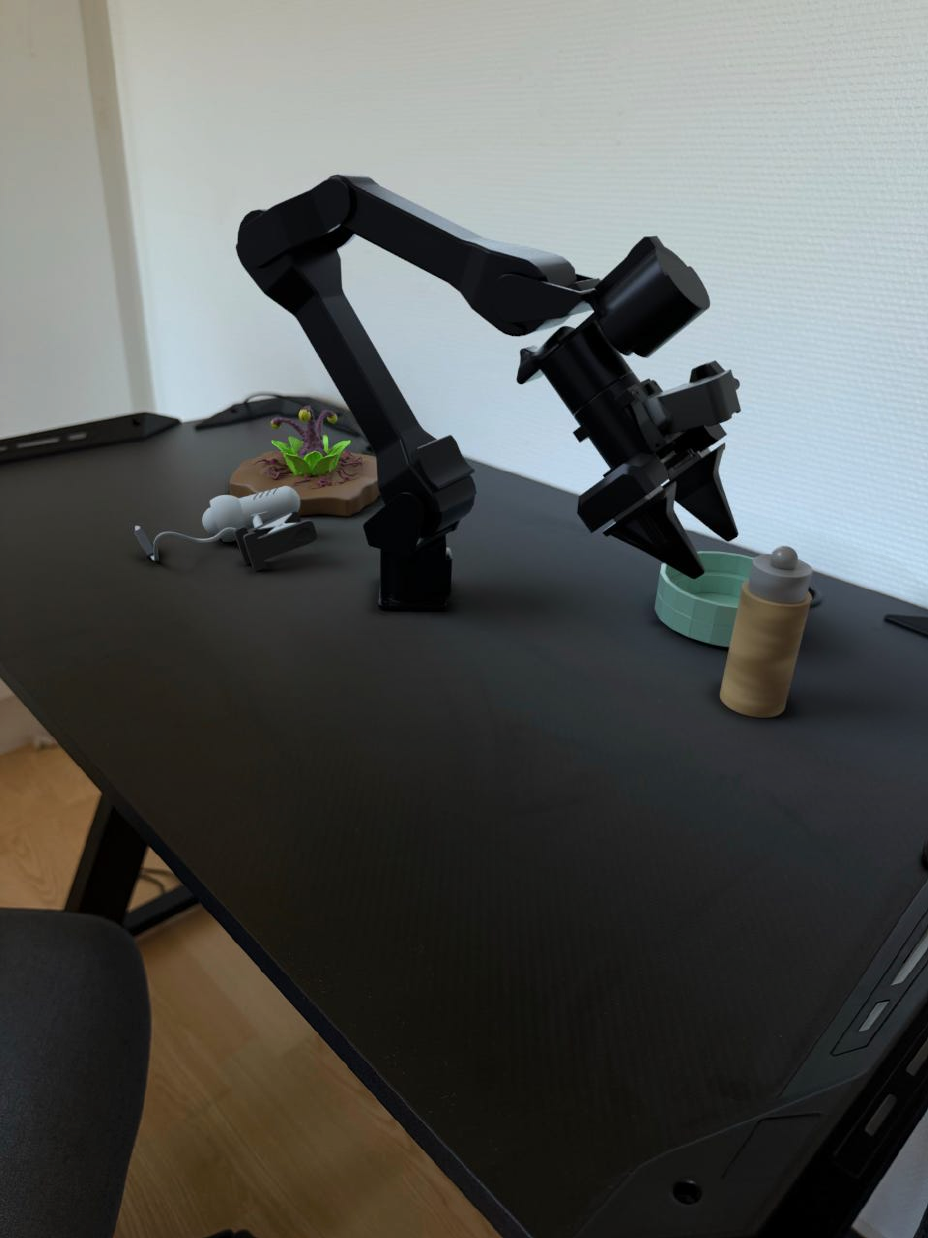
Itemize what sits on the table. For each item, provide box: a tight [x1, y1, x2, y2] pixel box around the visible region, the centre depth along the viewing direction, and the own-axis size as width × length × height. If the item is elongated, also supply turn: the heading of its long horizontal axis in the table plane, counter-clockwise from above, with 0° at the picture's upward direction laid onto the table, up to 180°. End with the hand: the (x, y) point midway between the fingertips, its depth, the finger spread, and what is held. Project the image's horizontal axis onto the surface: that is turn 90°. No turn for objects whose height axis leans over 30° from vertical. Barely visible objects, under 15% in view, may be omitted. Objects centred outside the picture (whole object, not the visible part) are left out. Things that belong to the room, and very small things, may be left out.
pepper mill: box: [719, 545, 814, 719], centre depth 71 cm, size 5×5×14 cm
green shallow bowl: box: [654, 550, 755, 648], centre depth 86 cm, size 13×13×4 cm
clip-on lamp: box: [133, 486, 318, 572], centre depth 95 cm, size 12×6×18 cm
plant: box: [229, 405, 381, 518], centre depth 112 cm, size 20×20×11 cm
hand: (717, 556), depth 71 cm, fingers open, 9 cm apart
